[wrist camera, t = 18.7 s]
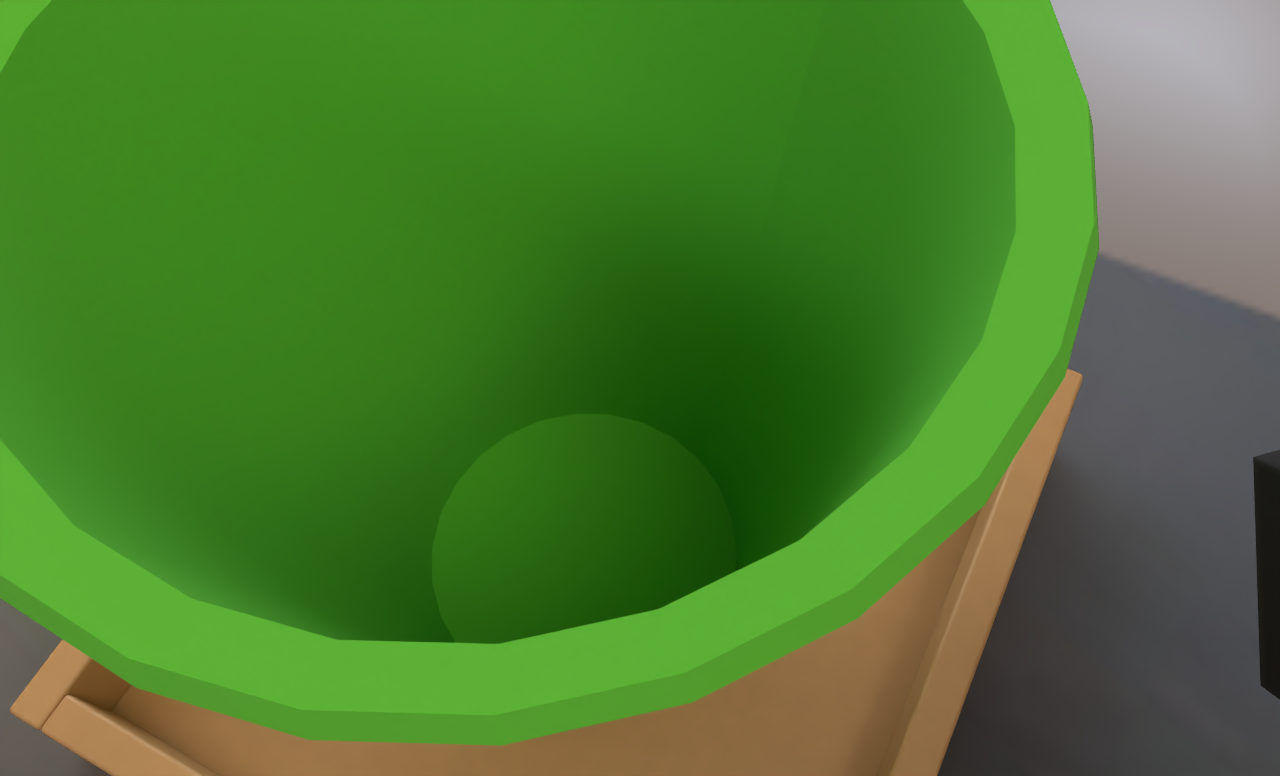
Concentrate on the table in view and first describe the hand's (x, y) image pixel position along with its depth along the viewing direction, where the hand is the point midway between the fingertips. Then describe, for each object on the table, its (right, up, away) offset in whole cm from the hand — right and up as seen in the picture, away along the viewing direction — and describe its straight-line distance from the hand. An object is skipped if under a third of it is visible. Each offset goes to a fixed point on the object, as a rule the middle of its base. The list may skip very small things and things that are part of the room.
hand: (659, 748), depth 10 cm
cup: (-1, 0, +7) cm, 7 cm away
